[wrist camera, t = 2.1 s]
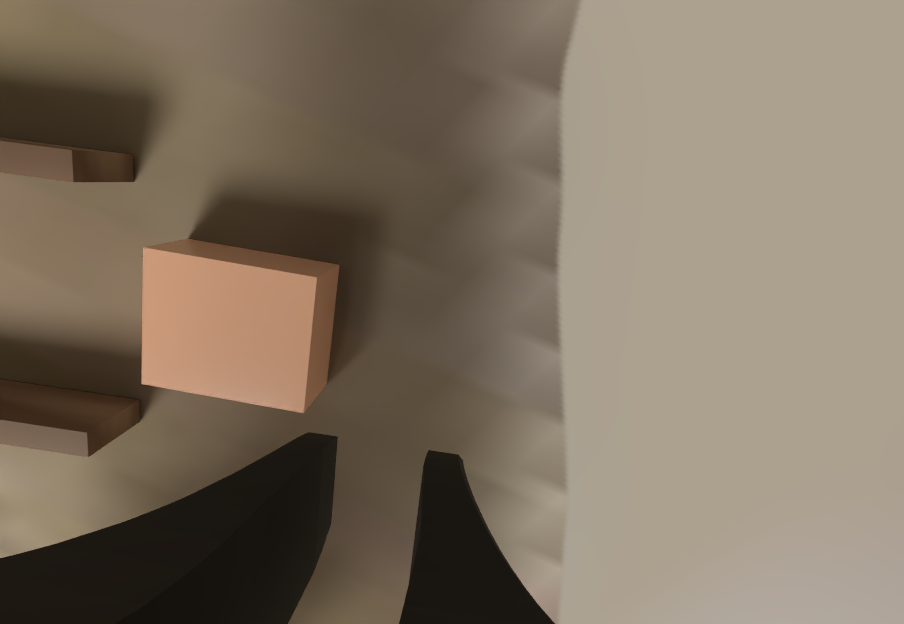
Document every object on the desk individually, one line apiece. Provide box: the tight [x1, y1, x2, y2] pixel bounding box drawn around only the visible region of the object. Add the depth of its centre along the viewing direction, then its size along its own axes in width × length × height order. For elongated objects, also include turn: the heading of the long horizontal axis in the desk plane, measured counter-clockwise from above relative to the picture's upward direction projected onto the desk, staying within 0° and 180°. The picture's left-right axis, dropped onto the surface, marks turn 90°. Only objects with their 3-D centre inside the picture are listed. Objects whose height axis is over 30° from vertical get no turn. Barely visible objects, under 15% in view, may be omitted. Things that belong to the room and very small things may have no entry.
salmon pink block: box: [141, 239, 340, 413], centre depth 20 cm, size 5×6×3 cm
